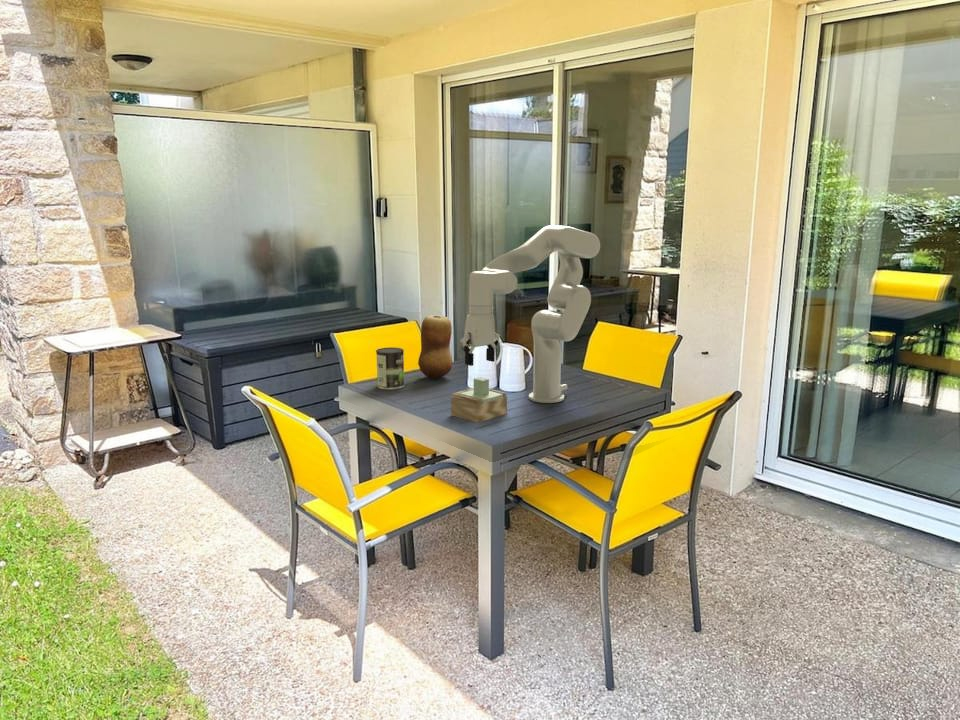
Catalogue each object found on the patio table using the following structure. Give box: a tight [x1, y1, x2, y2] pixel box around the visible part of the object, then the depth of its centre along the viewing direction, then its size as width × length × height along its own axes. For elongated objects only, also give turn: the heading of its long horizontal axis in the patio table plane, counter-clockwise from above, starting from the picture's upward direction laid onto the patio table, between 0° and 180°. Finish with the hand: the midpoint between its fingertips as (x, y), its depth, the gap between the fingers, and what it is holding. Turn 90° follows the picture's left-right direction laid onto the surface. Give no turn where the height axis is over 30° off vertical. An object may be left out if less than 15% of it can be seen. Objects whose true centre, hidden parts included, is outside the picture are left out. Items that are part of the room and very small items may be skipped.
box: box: [450, 387, 508, 424], centre depth 232 cm, size 14×12×7 cm
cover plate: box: [460, 376, 503, 403], centre depth 230 cm, size 9×11×6 cm
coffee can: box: [375, 346, 405, 391], centre depth 266 cm, size 10×10×14 cm
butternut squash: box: [417, 314, 453, 380], centre depth 277 cm, size 14×13×25 cm
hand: (479, 363), depth 228 cm, fingers open, 9 cm apart
